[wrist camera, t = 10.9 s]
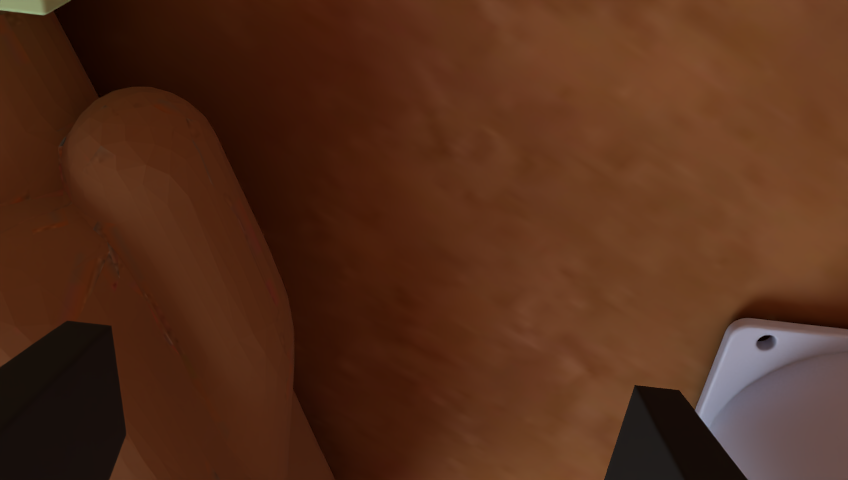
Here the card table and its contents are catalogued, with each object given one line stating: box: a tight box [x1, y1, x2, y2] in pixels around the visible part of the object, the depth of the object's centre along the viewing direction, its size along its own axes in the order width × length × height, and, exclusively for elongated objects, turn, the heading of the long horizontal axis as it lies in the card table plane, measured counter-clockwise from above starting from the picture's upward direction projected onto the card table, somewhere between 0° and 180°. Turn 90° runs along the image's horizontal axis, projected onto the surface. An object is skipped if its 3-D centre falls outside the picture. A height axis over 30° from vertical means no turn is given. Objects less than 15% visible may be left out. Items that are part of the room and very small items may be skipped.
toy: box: [0, 10, 335, 480], centre depth 20 cm, size 15×8×20 cm
